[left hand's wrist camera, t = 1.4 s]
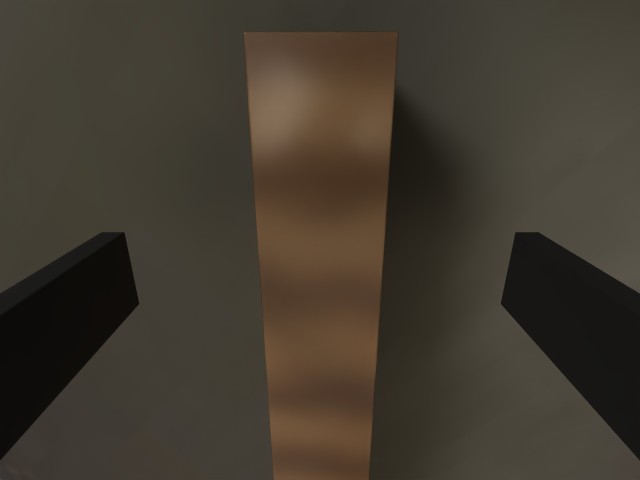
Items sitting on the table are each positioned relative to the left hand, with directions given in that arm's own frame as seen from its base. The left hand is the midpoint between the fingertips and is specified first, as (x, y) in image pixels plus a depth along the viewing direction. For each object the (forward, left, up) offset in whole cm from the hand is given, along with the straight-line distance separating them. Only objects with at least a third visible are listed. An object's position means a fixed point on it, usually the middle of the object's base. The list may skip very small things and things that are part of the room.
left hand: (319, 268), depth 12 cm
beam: (+27, +20, -13) cm, 36 cm away
